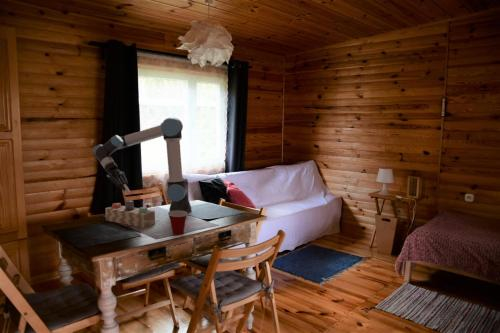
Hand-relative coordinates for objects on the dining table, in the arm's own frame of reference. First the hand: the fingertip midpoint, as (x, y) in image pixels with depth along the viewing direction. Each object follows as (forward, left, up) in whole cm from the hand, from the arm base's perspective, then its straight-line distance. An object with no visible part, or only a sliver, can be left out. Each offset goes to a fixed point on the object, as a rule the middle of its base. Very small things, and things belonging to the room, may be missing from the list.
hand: (128, 193), depth 230 cm
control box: (0, 0, -18) cm, 18 cm away
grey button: (0, 0, -10) cm, 10 cm away
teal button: (+5, +11, -13) cm, 17 cm away
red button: (-5, -11, -13) cm, 18 cm away
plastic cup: (+22, +37, -18) cm, 47 cm away
